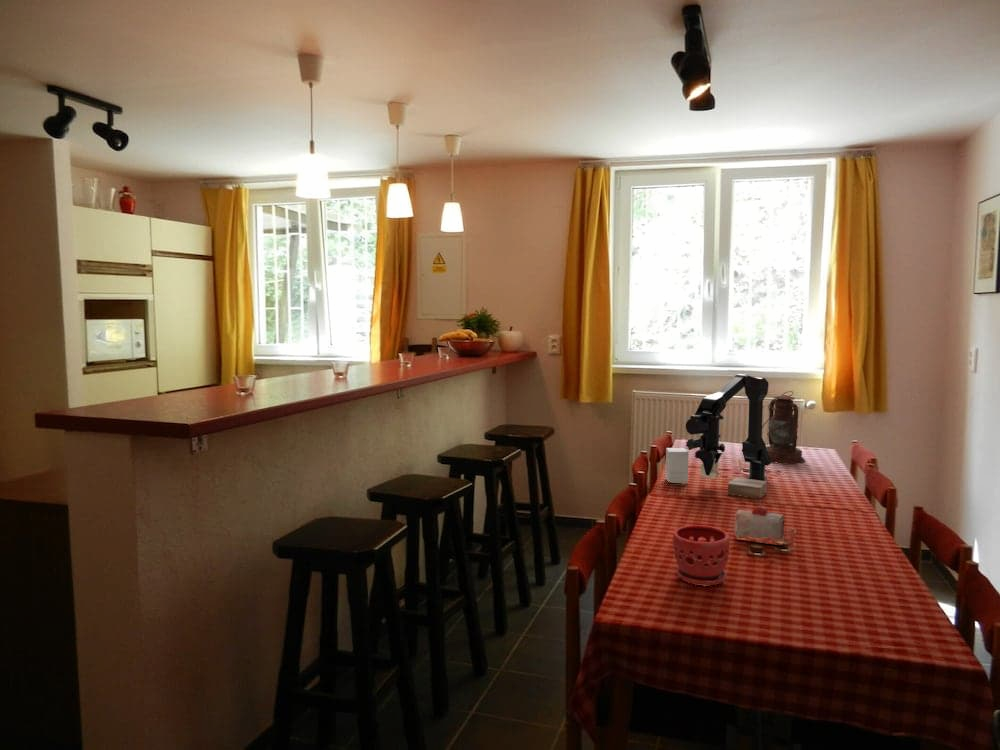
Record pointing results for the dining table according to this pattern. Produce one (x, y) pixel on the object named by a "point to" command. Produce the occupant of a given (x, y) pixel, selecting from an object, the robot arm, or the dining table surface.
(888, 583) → the dining table surface
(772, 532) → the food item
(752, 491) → the beige flat block
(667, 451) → the supplement box
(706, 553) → the plant pot
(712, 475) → the birch cube
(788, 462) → the lantern
